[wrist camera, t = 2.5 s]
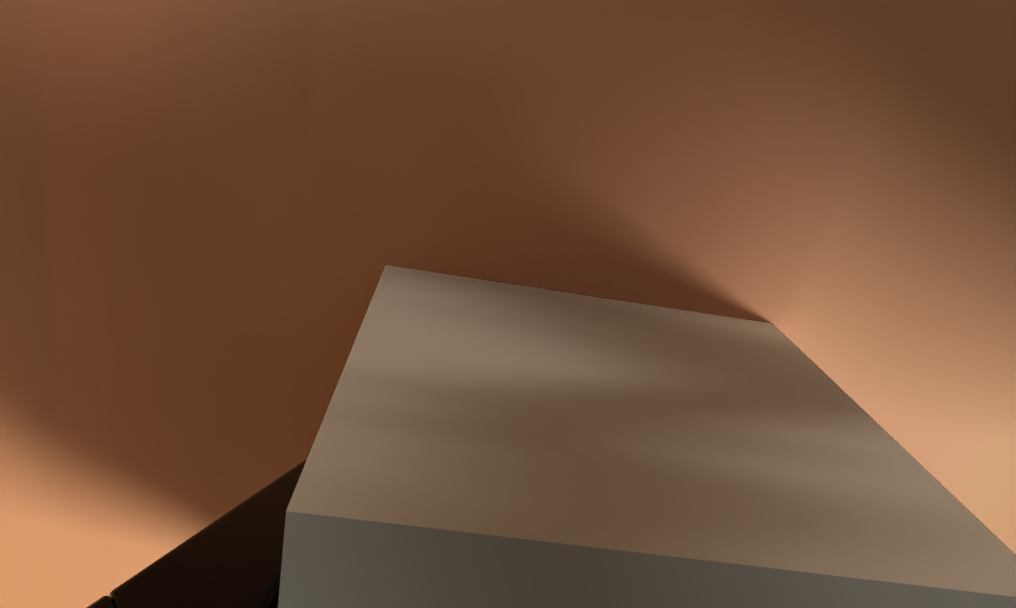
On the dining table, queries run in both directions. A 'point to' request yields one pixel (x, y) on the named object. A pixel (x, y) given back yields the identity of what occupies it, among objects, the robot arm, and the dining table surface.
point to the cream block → (610, 468)
